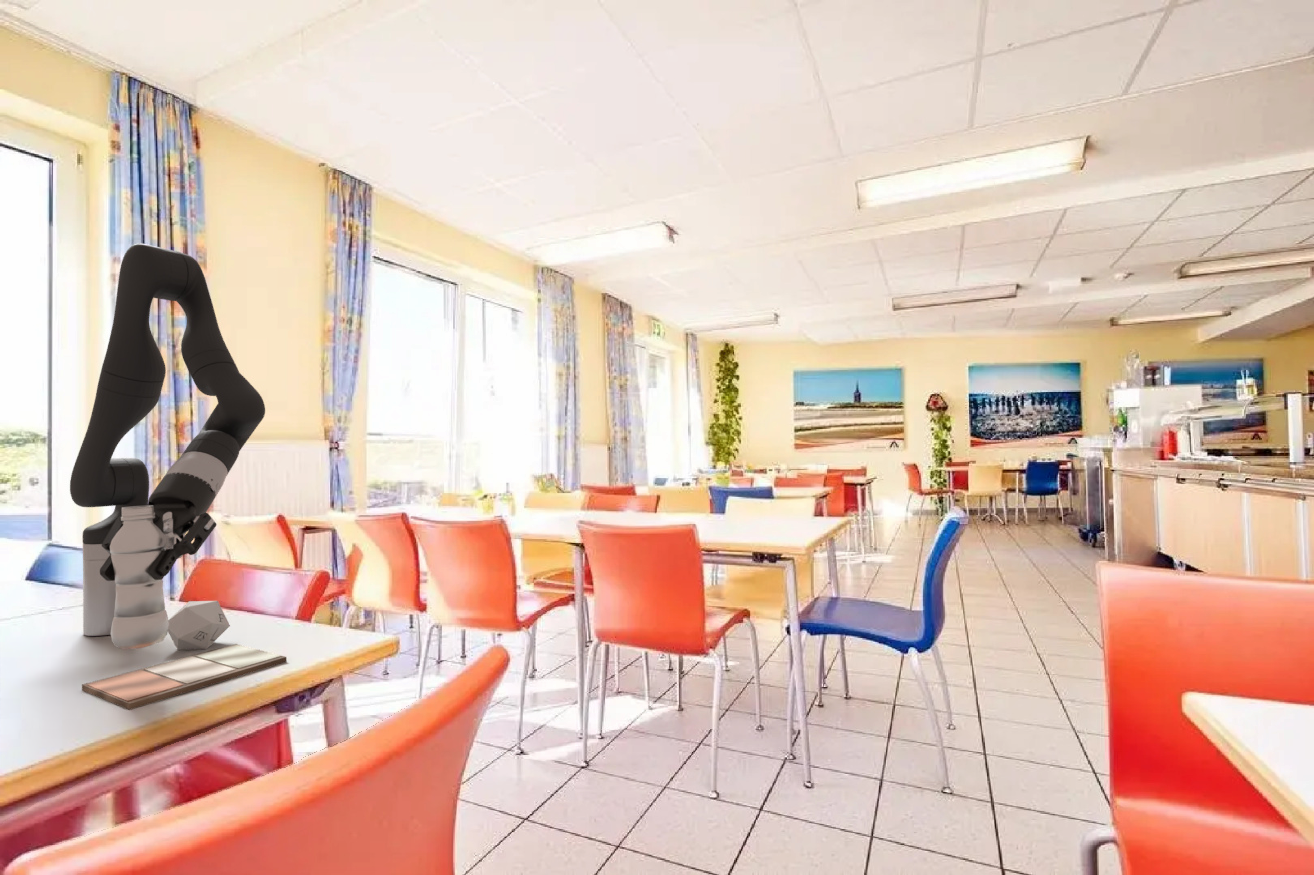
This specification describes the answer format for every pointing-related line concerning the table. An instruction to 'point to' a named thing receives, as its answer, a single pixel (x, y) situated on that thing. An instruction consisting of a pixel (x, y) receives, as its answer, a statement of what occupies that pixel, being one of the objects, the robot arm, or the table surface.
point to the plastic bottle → (138, 581)
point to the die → (197, 625)
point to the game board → (181, 675)
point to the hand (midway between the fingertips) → (130, 577)
